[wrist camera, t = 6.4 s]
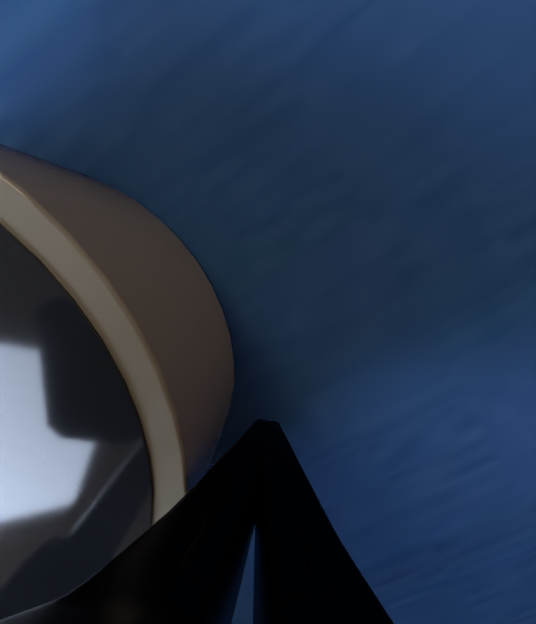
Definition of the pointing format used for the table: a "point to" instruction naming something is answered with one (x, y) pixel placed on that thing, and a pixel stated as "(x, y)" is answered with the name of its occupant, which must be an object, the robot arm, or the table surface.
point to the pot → (96, 376)
